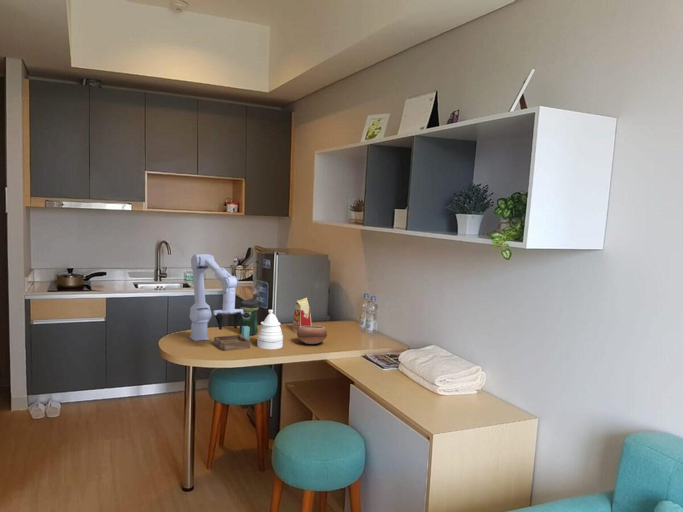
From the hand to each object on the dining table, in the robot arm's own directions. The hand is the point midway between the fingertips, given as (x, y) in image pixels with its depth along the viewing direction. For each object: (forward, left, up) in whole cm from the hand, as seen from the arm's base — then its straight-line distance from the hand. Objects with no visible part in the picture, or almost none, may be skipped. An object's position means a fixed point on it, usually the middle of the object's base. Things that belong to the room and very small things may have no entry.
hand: (227, 328), depth 256 cm
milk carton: (-19, +52, -10) cm, 56 cm away
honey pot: (+2, +22, -10) cm, 25 cm away
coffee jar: (-25, +22, -10) cm, 35 cm away
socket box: (-4, +4, -10) cm, 11 cm away
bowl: (+6, +44, -10) cm, 46 cm away
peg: (-13, +15, -10) cm, 22 cm away
